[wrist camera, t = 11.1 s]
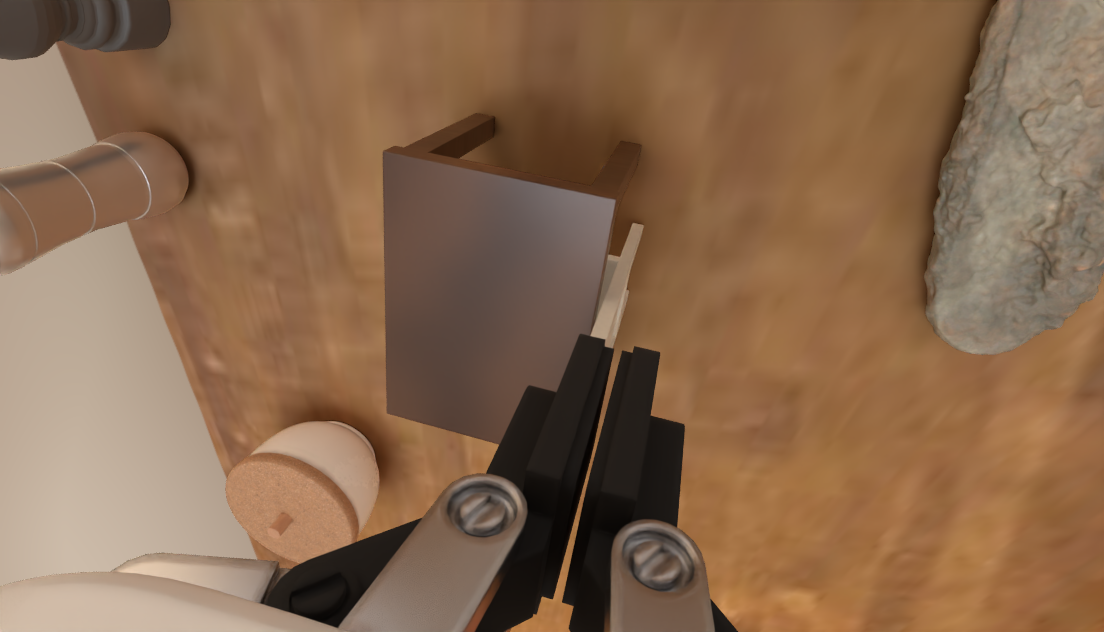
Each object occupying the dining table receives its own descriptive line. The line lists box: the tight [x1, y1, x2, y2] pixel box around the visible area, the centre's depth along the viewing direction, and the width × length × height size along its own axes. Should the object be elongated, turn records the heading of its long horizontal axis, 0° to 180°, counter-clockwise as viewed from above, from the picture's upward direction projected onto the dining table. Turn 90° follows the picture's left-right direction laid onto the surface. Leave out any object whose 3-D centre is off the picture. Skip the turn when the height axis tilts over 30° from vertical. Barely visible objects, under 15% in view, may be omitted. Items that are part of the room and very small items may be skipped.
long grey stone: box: [924, 0, 1104, 355], centre depth 29 cm, size 35×5×10 cm
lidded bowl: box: [226, 421, 379, 563], centre depth 55 cm, size 13×13×11 cm
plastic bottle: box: [0, 132, 189, 275], centre depth 40 cm, size 6×7×20 cm
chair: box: [590, 223, 644, 348], centre depth 36 cm, size 7×6×17 cm
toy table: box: [383, 113, 642, 445], centre depth 38 cm, size 12×17×13 cm
